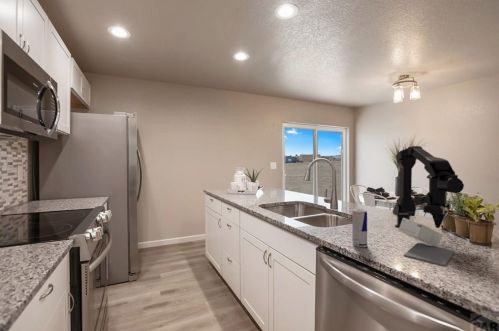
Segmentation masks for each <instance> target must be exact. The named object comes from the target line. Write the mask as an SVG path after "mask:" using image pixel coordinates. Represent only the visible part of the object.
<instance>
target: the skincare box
mask: <svg viewBox="0 0 499 331" xmlns="http://www.w3.org/2000/svg"><path fill="white" fill-rule="evenodd" d="M397 230H398V231H399V232H402V233H404V234H406V235H408V236H409V237H412V238H414V239H416V240H419V241H422V242H424V243H425V244H429V245H430V246H435V247H439V246H440V243H441V241H442V239H443V235H444V234H443V233H441V232H439V231H437V230H435V229H433V228H431V227H429V226H427V225H425V224H423V223H420V222H417V221H414V220H412V219H410V220H408V219H405V218H403V219H402V222H401V225H400V227H398V229H397Z"/></svg>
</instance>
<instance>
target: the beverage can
mask: <svg viewBox="0 0 499 331" xmlns="http://www.w3.org/2000/svg"><path fill="white" fill-rule="evenodd" d="M351 213H352V218H351V220H352V245H353V246H354V247H357V248H366V247H367V246H368V211H367V210H366V209H363V208H353V209H352V212H351Z"/></svg>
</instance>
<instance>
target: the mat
mask: <svg viewBox="0 0 499 331" xmlns="http://www.w3.org/2000/svg"><path fill="white" fill-rule="evenodd" d="M454 253H455V250H454V249H448V248H444V247H439V246H438V247H435V246H433V245H431V244H429V245H428V244H426V243H425V244H424V243H419V242H417V243H415V244H414V245H412V246H411V248H409V249H408V250H407V251H406V252H405V253H403V256H404V257H407V258H410V259H413V260H419V261H423V262H425V263H430V264H435V265H439V266H442V267H446V265H447V264H448V262H449V260H450V259H451V257H452V256H453V255H454Z"/></svg>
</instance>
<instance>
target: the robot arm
mask: <svg viewBox="0 0 499 331" xmlns="http://www.w3.org/2000/svg"><path fill="white" fill-rule="evenodd" d="M395 159H396V161H397V162H396V164H397V165H398V166H399V168H400V178H399V181H400V185H399V186H400V189H399V190H400V191H399V193H400V194H399V197H398V198H397V199H396V204H395V205H394V207H393V209H392V214H393V215H394V216H396V219H397V220H396V225H394V227H395V228H399V227H400V225H401V222H402V219H403V218H405V219H408V220H411V217H415V214H416V212H417V207H418V206H421V205H425V204H426V205H425V206H424V207H423V209H422V210H423V211H422V213H425V214H430V215H431V217H432V220H433V223H434V226H435V228H436V229H440V228H441V225H442V224H443V222H444V221H445V218H446V216H447V214H448V213H449V211H448V210H450V209H452V203H451V202H450V201H447V196H448V193H453V194H459V193H461V192H462V191H463V190H464V188H465V184H464V183H463V181H462V179H461V178H458V176H459V175H458V174H456V172H455V170H454V169H453V167H452V165H451V164H450V162H449V160H447V159H445V158H443V157H442V158H440V157H436V156H434V155H432V154H431V153H430V152H428V151H427V150H425V149H424V148H423V146H420V145H410V146H408V147H407V148H404V149H402V150H400V151H398V153H397V154H396V156H395ZM417 161H419V162H420V163H422V164H423V165H424V170H425V171H426V172H427V173H428V175H427V176H426V179H428V185H429V186H428V192H427V193H426V195H423V196H421V195H416V196H414V198H413V197H412V186H413V185H412V181H413V180H412V179H413V178H412V175H413V173H412V172H413V171H412V170H413V168H414V167H415V165H416V163H417ZM446 209H448V210H446Z"/></svg>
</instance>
